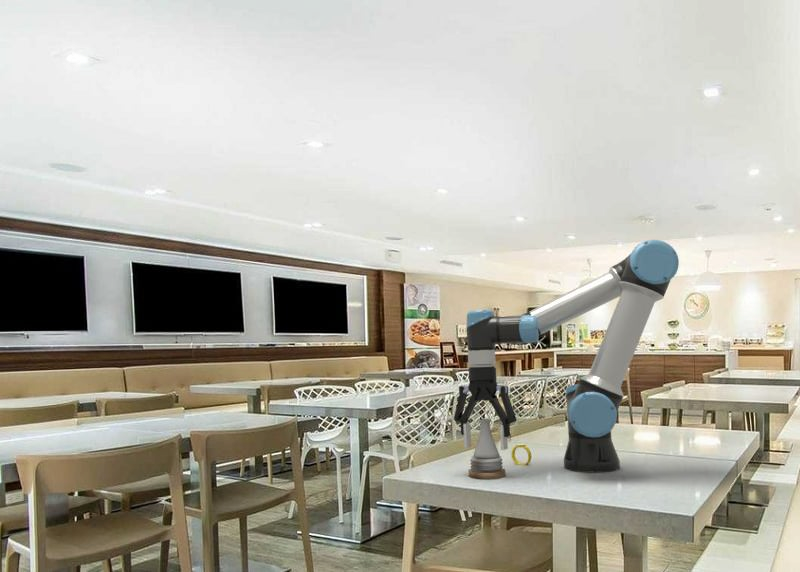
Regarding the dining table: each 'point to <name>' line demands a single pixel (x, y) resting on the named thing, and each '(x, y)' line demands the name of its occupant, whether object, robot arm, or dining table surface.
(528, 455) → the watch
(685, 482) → the dining table surface
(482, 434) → the flask
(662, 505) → the dining table surface
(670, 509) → the dining table surface
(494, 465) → the pedestal
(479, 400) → the robot arm
